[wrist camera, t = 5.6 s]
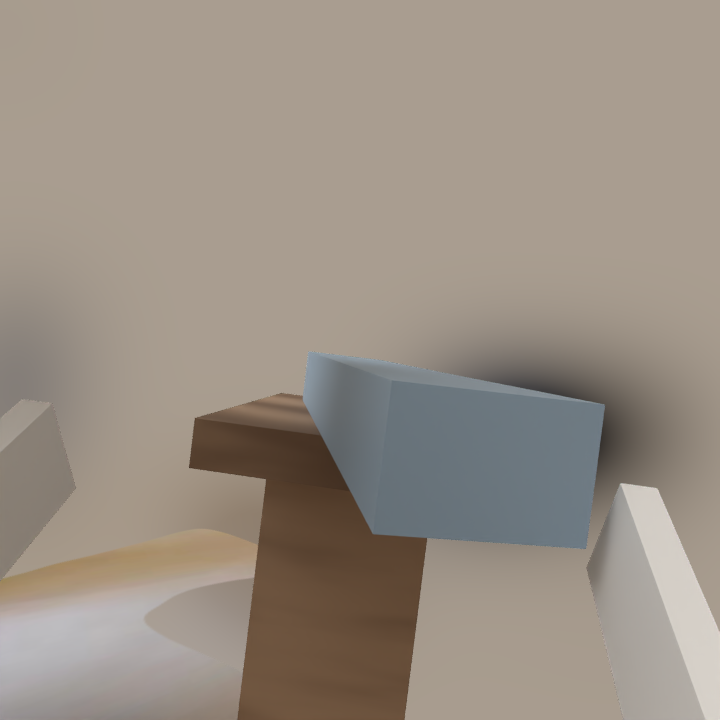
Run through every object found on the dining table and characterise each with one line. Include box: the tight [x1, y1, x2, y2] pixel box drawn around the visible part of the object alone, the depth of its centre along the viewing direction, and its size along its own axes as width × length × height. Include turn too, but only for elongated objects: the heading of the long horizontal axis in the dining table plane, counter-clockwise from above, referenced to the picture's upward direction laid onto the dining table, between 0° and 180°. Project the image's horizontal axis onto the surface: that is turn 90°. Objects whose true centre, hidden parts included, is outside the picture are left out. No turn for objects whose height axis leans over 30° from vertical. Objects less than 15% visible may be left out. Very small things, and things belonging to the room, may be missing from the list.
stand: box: [189, 393, 427, 720], centre depth 30 cm, size 16×14×30 cm
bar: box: [303, 352, 605, 549], centre depth 23 cm, size 24×4×3 cm, turn 9°
